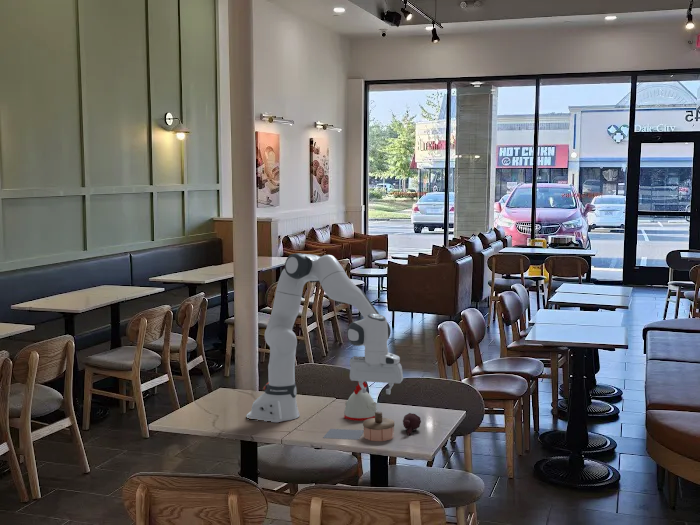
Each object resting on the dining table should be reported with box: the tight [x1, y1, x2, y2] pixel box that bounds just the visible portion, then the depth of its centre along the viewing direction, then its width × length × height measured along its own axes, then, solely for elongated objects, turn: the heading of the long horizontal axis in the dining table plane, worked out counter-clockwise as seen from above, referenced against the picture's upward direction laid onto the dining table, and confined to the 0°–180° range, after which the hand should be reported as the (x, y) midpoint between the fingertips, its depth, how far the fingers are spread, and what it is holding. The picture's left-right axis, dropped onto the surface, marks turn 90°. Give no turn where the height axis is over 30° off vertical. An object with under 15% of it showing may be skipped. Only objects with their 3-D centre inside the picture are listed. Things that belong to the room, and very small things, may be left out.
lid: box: [362, 411, 395, 430], centre depth 304 cm, size 12×12×5 cm
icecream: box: [402, 412, 422, 436], centre depth 314 cm, size 7×7×15 cm
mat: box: [322, 428, 364, 441], centre depth 309 cm, size 14×12×1 cm
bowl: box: [363, 426, 395, 442], centre depth 305 cm, size 11×11×5 cm
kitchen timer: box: [343, 381, 378, 422], centre depth 333 cm, size 14×14×15 cm
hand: (376, 393), depth 303 cm, fingers open, 8 cm apart
